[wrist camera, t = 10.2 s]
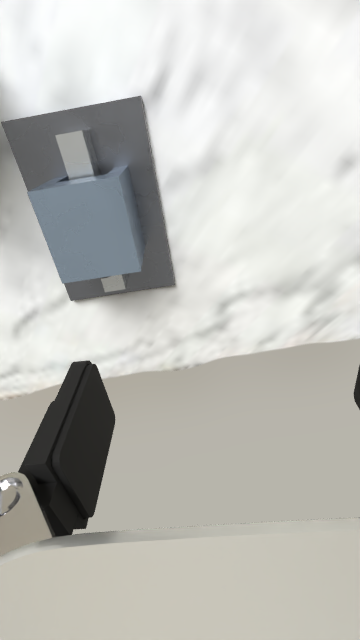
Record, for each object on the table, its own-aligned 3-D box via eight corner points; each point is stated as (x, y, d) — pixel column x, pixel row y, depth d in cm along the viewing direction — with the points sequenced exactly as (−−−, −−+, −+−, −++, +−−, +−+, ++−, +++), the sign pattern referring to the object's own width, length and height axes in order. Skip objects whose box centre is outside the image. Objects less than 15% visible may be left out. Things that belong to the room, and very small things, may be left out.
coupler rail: (141, 96, 25) (138, 93, 22) (174, 281, 33) (175, 295, 30) (5, 122, 25) (-14, 122, 23) (72, 297, 34) (64, 312, 31)
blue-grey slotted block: (127, 165, 26) (118, 176, 21) (146, 249, 30) (141, 276, 25) (53, 178, 27) (27, 192, 22) (81, 260, 31) (64, 287, 26)
